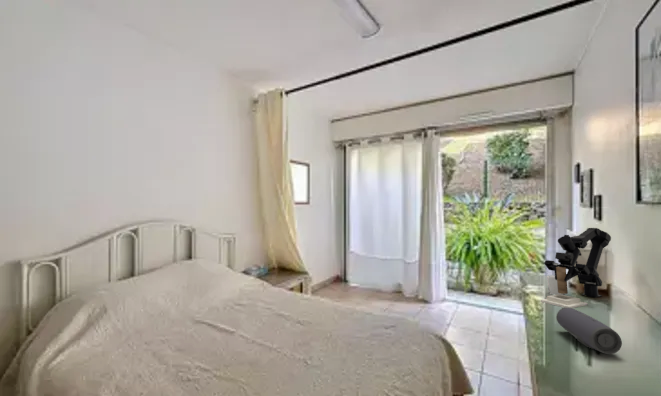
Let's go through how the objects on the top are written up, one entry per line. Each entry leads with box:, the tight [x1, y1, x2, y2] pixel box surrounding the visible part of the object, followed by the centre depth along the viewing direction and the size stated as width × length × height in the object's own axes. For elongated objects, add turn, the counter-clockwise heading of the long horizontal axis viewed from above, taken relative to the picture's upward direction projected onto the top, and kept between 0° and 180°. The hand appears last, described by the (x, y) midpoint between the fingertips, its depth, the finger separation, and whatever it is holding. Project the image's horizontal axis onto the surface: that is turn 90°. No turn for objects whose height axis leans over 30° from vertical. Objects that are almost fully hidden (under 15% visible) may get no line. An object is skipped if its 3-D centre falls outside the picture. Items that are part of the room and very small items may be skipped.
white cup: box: [547, 275, 565, 295], centre depth 173 cm, size 8×8×10 cm
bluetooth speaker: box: [556, 307, 623, 355], centre depth 110 cm, size 23×9×10 cm, turn 168°
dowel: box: [556, 267, 569, 295], centre depth 157 cm, size 4×4×13 cm
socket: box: [540, 294, 588, 309], centre depth 157 cm, size 14×14×3 cm
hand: (560, 280), depth 157 cm, fingers closed on dowel, 4 cm apart
